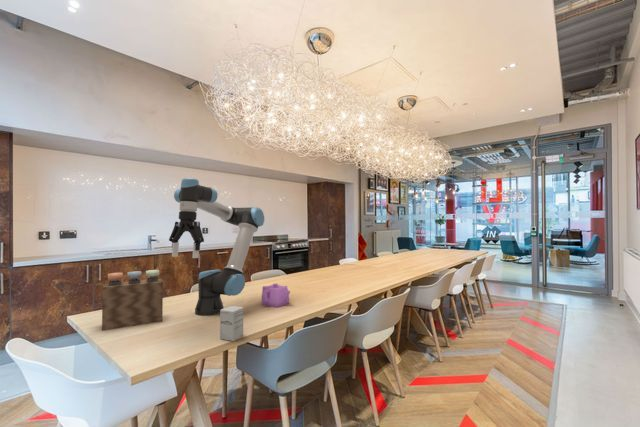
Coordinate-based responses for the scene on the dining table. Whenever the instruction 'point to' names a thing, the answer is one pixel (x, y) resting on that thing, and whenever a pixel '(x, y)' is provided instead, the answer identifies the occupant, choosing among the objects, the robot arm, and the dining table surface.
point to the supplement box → (231, 323)
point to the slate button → (134, 275)
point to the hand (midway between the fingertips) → (184, 257)
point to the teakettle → (275, 295)
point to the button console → (132, 303)
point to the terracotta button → (115, 276)
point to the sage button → (152, 273)
